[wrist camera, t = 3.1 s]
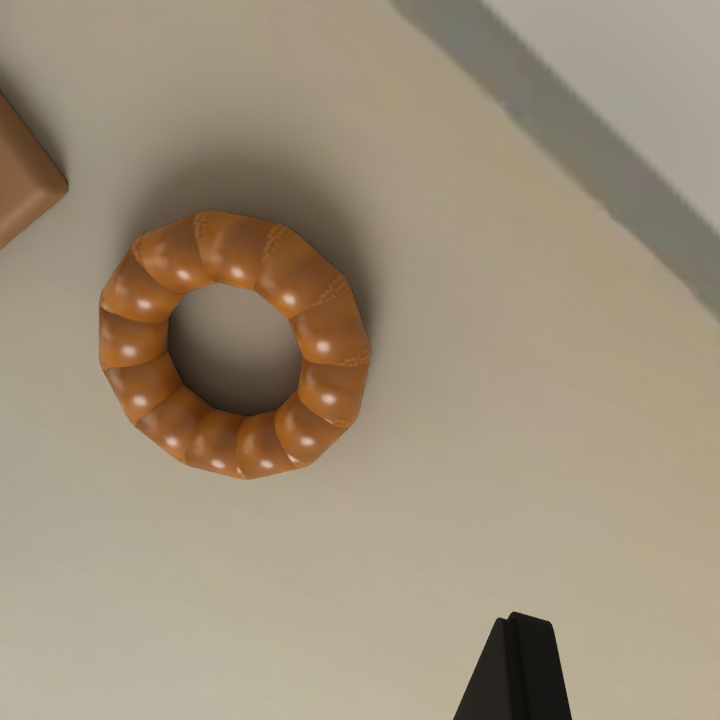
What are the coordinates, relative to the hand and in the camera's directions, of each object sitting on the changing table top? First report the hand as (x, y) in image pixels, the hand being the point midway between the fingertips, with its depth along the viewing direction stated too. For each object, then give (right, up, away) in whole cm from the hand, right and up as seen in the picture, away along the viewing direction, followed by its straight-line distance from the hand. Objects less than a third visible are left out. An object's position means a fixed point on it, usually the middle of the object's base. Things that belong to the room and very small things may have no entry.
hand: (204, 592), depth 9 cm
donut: (-1, +4, +8) cm, 9 cm away
